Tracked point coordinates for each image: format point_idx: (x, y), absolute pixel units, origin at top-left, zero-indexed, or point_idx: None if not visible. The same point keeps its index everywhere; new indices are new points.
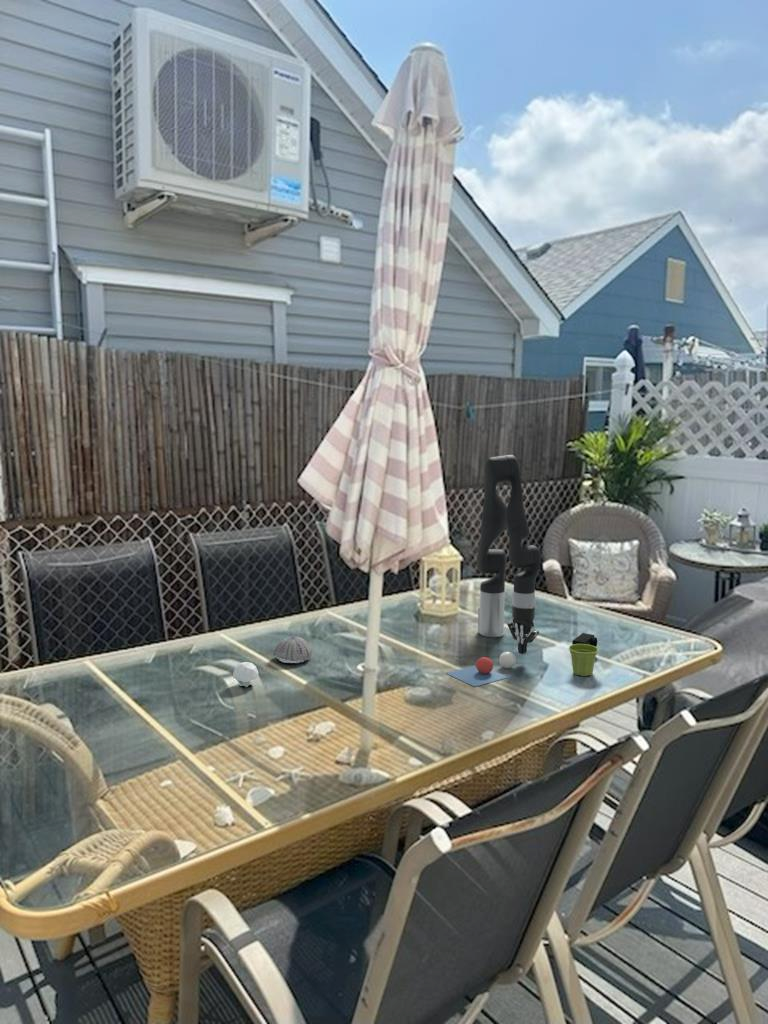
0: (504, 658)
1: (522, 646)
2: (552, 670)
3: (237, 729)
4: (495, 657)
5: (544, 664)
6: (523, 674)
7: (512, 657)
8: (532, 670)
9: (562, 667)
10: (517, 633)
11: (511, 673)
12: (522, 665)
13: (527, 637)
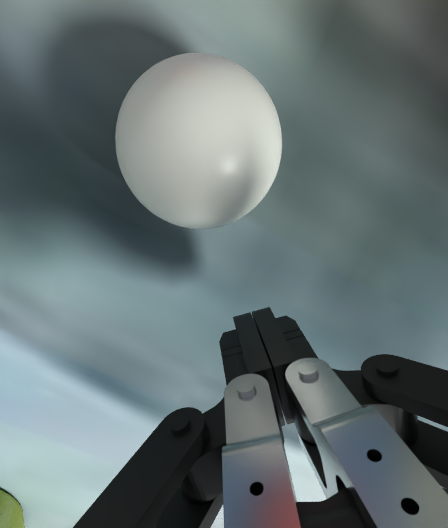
0: (150, 71)
1: (245, 365)
2: (58, 404)
3: None
4: (421, 177)
5: (172, 405)
6: (22, 192)
7: (128, 166)
8: (90, 294)
9: (94, 468)
10: (358, 448)
11: (65, 107)
12: (203, 277)
13: (144, 509)
